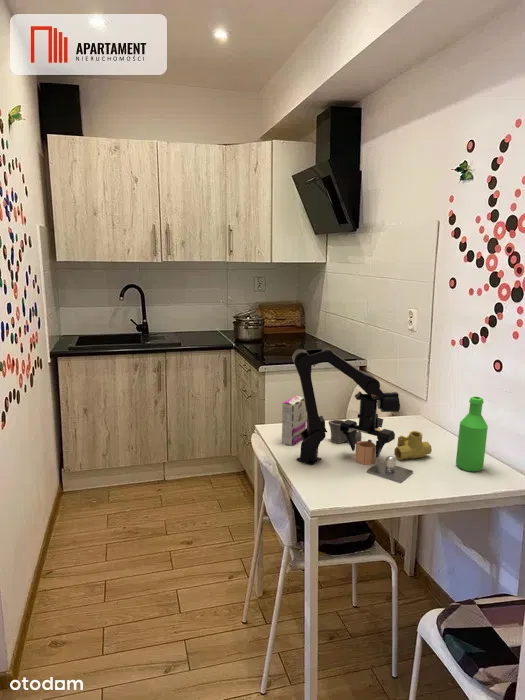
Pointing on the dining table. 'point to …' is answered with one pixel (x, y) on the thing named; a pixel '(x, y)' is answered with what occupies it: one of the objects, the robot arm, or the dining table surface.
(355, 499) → the dining table surface
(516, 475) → the dining table surface
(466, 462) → the bottle
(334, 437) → the pipe
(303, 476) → the dining table surface
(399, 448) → the ball valve
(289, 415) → the candy bar box
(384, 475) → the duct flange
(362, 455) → the collar
